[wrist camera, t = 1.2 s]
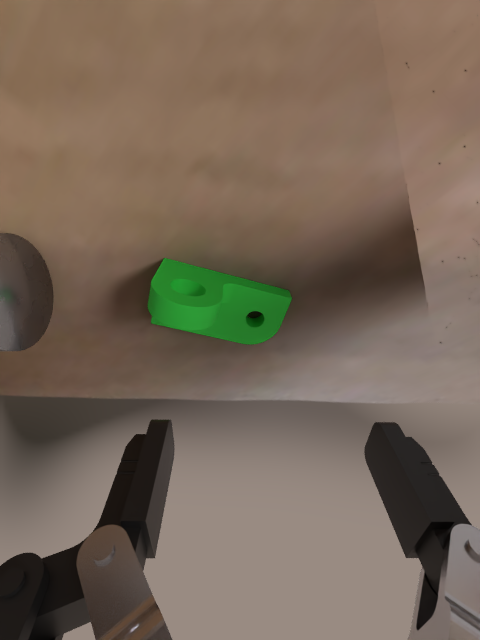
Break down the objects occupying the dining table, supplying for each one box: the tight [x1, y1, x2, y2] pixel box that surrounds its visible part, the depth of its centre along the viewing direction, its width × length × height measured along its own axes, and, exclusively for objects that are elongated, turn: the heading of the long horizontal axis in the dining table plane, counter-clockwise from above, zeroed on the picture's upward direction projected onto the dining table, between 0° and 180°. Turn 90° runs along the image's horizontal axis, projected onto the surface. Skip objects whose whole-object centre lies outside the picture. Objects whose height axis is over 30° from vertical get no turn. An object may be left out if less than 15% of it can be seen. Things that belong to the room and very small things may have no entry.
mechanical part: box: [148, 258, 292, 344], centre depth 26 cm, size 12×6×8 cm, turn 74°
